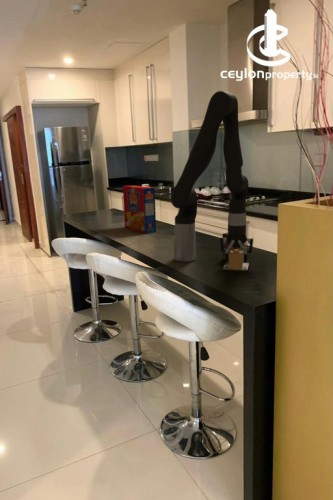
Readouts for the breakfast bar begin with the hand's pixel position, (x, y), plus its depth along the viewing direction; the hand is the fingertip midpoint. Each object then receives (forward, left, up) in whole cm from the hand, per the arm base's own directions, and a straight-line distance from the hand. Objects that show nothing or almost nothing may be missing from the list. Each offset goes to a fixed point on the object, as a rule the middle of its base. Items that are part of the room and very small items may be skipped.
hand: (236, 261), depth 165 cm
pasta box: (-69, +74, -2) cm, 101 cm away
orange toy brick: (0, 0, -2) cm, 2 cm away
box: (-4, +13, -2) cm, 14 cm away
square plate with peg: (0, 0, -2) cm, 2 cm away
